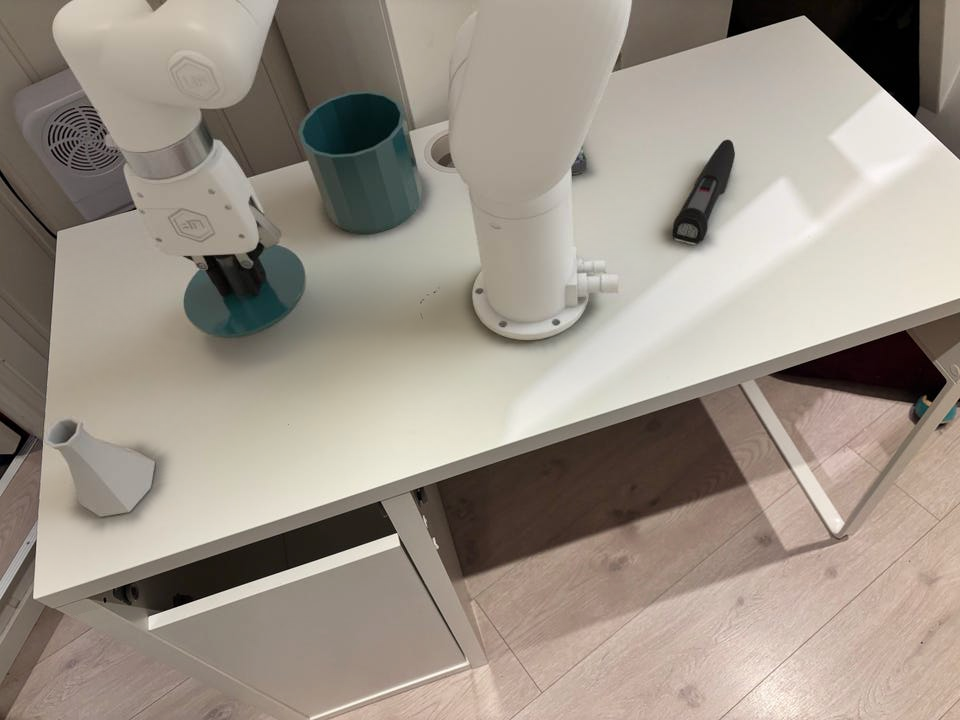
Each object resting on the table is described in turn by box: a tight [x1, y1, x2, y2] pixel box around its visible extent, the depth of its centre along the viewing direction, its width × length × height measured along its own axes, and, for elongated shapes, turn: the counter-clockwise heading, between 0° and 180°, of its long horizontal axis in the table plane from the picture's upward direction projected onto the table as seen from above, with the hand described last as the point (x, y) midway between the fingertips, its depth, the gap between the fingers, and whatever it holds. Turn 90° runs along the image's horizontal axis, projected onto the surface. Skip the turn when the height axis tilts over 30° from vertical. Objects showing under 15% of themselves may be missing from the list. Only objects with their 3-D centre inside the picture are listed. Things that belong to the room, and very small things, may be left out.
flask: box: [43, 415, 156, 518], centre depth 69 cm, size 7×7×10 cm
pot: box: [297, 90, 423, 235], centre depth 89 cm, size 12×12×12 cm
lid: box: [183, 244, 307, 339], centre depth 78 cm, size 13×13×7 cm
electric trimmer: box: [671, 139, 736, 246], centre depth 86 cm, size 4×16×3 cm, turn 152°
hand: (243, 285), depth 79 cm, fingers closed on lid, 2 cm apart
